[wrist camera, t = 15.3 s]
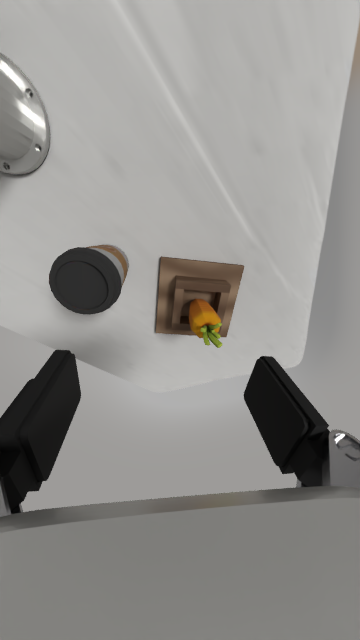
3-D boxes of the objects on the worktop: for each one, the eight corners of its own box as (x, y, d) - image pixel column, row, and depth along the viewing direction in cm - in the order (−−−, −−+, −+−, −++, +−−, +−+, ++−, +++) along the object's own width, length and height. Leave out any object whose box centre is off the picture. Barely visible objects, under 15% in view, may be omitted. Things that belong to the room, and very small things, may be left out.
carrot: (180, 293, 39) (190, 332, 26) (204, 286, 39) (227, 320, 26) (187, 315, 42) (200, 360, 28) (210, 307, 41) (233, 349, 28)
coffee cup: (135, 242, 35) (119, 256, 22) (133, 287, 39) (117, 321, 26) (87, 234, 34) (38, 243, 21) (89, 281, 38) (48, 314, 25)
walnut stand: (160, 256, 37) (160, 261, 33) (242, 265, 39) (251, 270, 35) (155, 330, 44) (155, 341, 40) (225, 334, 46) (230, 345, 42)
